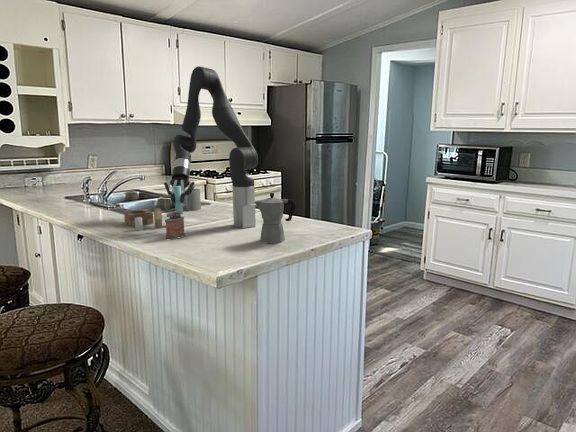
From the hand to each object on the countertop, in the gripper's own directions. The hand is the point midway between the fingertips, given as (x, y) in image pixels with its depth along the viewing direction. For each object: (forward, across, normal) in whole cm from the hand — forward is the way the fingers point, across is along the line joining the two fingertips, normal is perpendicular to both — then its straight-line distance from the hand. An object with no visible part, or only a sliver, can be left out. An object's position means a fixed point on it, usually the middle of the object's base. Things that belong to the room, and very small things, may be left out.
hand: (177, 202), depth 183 cm
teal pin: (+2, 0, +5) cm, 6 cm away
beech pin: (+9, -8, +6) cm, 13 cm away
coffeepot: (+26, +41, -10) cm, 50 cm away
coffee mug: (-19, -3, +33) cm, 38 cm away
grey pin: (+12, -15, +3) cm, 19 cm away
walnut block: (+2, -19, +12) cm, 22 cm away
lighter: (+21, +3, -6) cm, 22 cm away
